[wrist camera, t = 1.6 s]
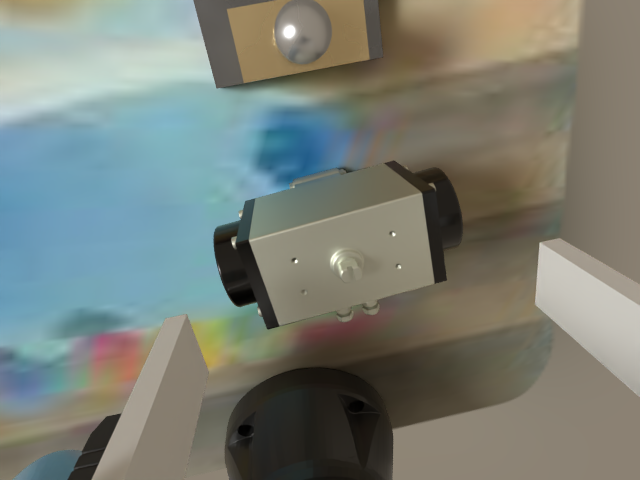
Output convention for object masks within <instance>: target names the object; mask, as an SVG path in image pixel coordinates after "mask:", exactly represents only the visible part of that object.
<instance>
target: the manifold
mask: <svg viewBox="0 0 640 480" xmlns="http://www.w3.org/2000/svg"><path fill="white" fill-rule="evenodd" d="M194 4H195V8H196V12H197V16H198V19H199V23H200V27H201V31H202V35H203V39H204V42H205V46H206V50H207V54H208V58H209V61H210V65H211V69H212V73H213V77H214V80H215V84H216V88H222V87H227V86H232V85H238V84H243V83H248V82H254V81H259V80H264V79H270V78H275V77H280V76H286V75H291V74H296V73H302V72H307V71H312V70H318V69H323V68H328V67H334V66H339V65H344V64H350V63H355V62H360V61H366V60H371V59H376V58H381V57H383V49H382V38H381V28H380V17H379V6H378V0H194Z"/></svg>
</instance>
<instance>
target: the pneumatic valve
mask: <svg viewBox="0 0 640 480" xmlns="http://www.w3.org/2000/svg"><path fill="white" fill-rule="evenodd" d="M289 185H290V189H288V190H284V191H281V192H277V193H273V194H270V195H266V196H262V197H259V198H255V199H251V200H248V201H245V204H244V208H243V210H240V211H239V216H240V219H241V220H239V221H236V222H232V223H228V224H225V225H221V226H218V227H217V228H216V229H215V232H214V252H215V258H216V263H217V267H218V271H219V274H220V277H221V280H222V283H223V286H224V288H225V290H226V292H227V294H228V296H229V298H230V300H231V301H232V302H233V304H234V305H236V306H237V307H242V306H245V305H249V304H253V303H256V302H257V303H258V307H257V309H258V313H259V316H260V317H263V319H264V322H265V324H266V327H267V329H272V328H275V327H279V326H283V325H286V324H290V323H293V322H297V321H301V320H304V319H308V318H312V317H315V316H319V315H323V314H326V313H330V312H334V311H336V312H337V314H336V316H337V319H338V320H339V321H340V322H348V321H350V320H351V319H352V318H353V310H351V307H352V306H355V305H359V304H362V305H363V307H362V308H363V311H364V313H366V314H367V315H374V314H376V313H377V312H378V311H379V307H380V306H379V303H377V301H378V299H381V298H385V297H388V296H392V295H396V294H399V293H403V292H406V291H410V290H414V289H417V288H421V287H425V286H428V285H432V284H436V283H439V282H443V281H446V280H447V278H446V270H445V261H444V254H443V251H446V250H450V249H453V248H456V247H458V246H459V244H460V243H461V240H462V234H463V223H462V215H461V210H460V206H459V202H458V199H457V196H456V193H455V191H454V188H453V186H452V184H451V182H450V180H449V179H448V177H447V176H446V175H445V173H444V172H443V171H442V170H440V169H439V168H436V167H435V168H430V169H426V170H422V171H419V172H415V173H412V172H410V171H409V170H408V168H407V166H406V165H404V166H401V165H400V164H398V163H397V162H395V161H390V162H387V163H383V164H379V165H376V166H372V167H368V168H365V169H361V170H357V171H354V172H350V173H346V171H344V170H343V169H340V170H339V169H337V168H333V169H330V170H326V171H323V172H319V173H315V174H312V175H308V176H304V177H301V178H297V179H293V182H292V183H289Z"/></svg>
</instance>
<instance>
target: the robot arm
mask: <svg viewBox="0 0 640 480" xmlns="http://www.w3.org/2000/svg"><path fill="white" fill-rule="evenodd" d="M535 305H536V306H537V307H539V308H540V309H541V310H542V311H543V312H544V313H545V314H546V315H548V316H549V317H550V318H551V319H552V320H553V321H554V322H555V323H557V324H558V325H559V326H560V327H561V328H562V329H563V330H565V331H566V332H567V333H568V334H569V335H570V336H571V337H572V338H574V339H575V340H576V341H577V342H578V343H580V345H581V346H583V347H584V348H585V349H586V350H587V351H588V352H589V353H590V354H592V355H593V356H594V357H595V358H596V359H597V360H598V361H599V362H601V363H602V364H603V365H604V366H605V367H606V368H607V369H609V370H610V371H611V372H612V373H613V374H614V375H615V376H616V377H618V378H619V379H620V380H621V381H622V382H623V383H624V384H625V385H627V386H628V387H629V388H630V389H631V390H632V391H633V392H635V393H636V394H637V395H638V396H639V397H640V284H639V283H637V282H635V281H633V280H632V279H630V278H628V277H626V276H624V275H623V274H621V273H619V272H618V271H616V270H614V269H612V268H611V267H609V266H607V265H605V264H604V263H602V262H600V261H598V260H597V259H595V258H593V257H592V256H590V255H588V254H586V253H585V252H583V251H581V250H579V249H578V248H576V247H574V246H572V245H571V244H569V243H567V242H565V241H564V240H562V239H560V238H559V239H554V240H549V241H544V242H540V246H539V259H538V271H537V284H536V297H535ZM208 374H209V371H208V368H207V366H206V363H205V361H204V358H203V355H202V353H201V350H200V347H199V345H198V342H197V340H196V337H195V334H194V332H193V329H192V327H191V324H190V321H189V319H188V316H187V314H184V315H180V316H175V317H170V318H165V321H164V323H163V325H162V327H161V329H160V332H159V334H158V336H157V338H156V340H155V342H154V345H153V347H152V349H151V351H150V353H149V356H148V358H147V360H146V362H145V364H144V366H143V369H142V371H141V373H140V375H139V377H138V380H137V382H136V384H135V386H134V388H133V390H132V393H131V395H130V397H129V399H128V401H127V404H126V406H125V408H124V410H123V412H122V413H121V414H117V415H112V416H107V417H106V418H105V419H104V420H103V421H102V422H101V423H100V424H99V426H98V427H97V428H96V429H95V430H94V431H93V432H92V433H91V435H90V437H89V439H88V441H87V443H86V445H85V447H84V449H83V451H79V450H62V451H57V452H53V453H51V454H48V455H46V456H44V457H42V458H40V459H38V460H36V461H35V462H33V463H32V464H30V465H29V466H27V467H26V468H25V469H24V470H23V471H21V472H20V473H19V474H18V475H17V476H16V477H15V478H14V479H13V480H184V478H185V474H186V470H187V465H188V461H189V456H190V452H191V448H192V443H193V439H194V435H195V430H196V426H197V422H198V417H199V413H200V409H201V404H202V400H203V395H204V391H205V387H206V382H207V378H208ZM225 463H226V468H227V472H228V476H229V480H392V469H393V468H392V467H393V466H392V465H393V433H392V426H391V423H390V420H389V417H388V414H387V411H386V408H385V405H384V403H383V401H382V399H381V397H380V396H379V394H378V393H377V392H376V391H375V390H374V389H373V388H372V387H371V386H370V385H369V384H367V383H366V382H365V381H363V380H361V379H360V378H358V377H356V376H353V375H351V374H348V373H345V372H342V371H338V370H332V369H322V368H311V369H300V370H295V371H290V372H286V373H283V374H280V375H277V376H274V377H272V378H270V379H268V380H266V381H264V382H262V383H261V384H259V385H257V386H256V387H254V388H253V389H252V390H251V391H249V392H248V393H247V394H246V395H245V396H244V397H243V398H242V399H241V400H240V401H239V403H238V404H237V405H236V407H235V408H234V410H233V412H232V414H231V416H230V419H229V422H228V427H227V434H226V442H225Z"/></svg>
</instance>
